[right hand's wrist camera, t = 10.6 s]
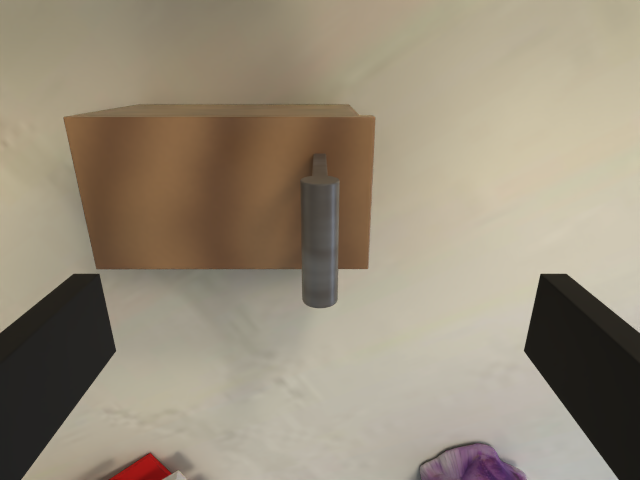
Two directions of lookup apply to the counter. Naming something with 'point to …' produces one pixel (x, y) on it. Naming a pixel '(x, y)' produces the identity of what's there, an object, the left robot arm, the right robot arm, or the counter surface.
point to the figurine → (470, 465)
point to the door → (228, 193)
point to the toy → (148, 471)
